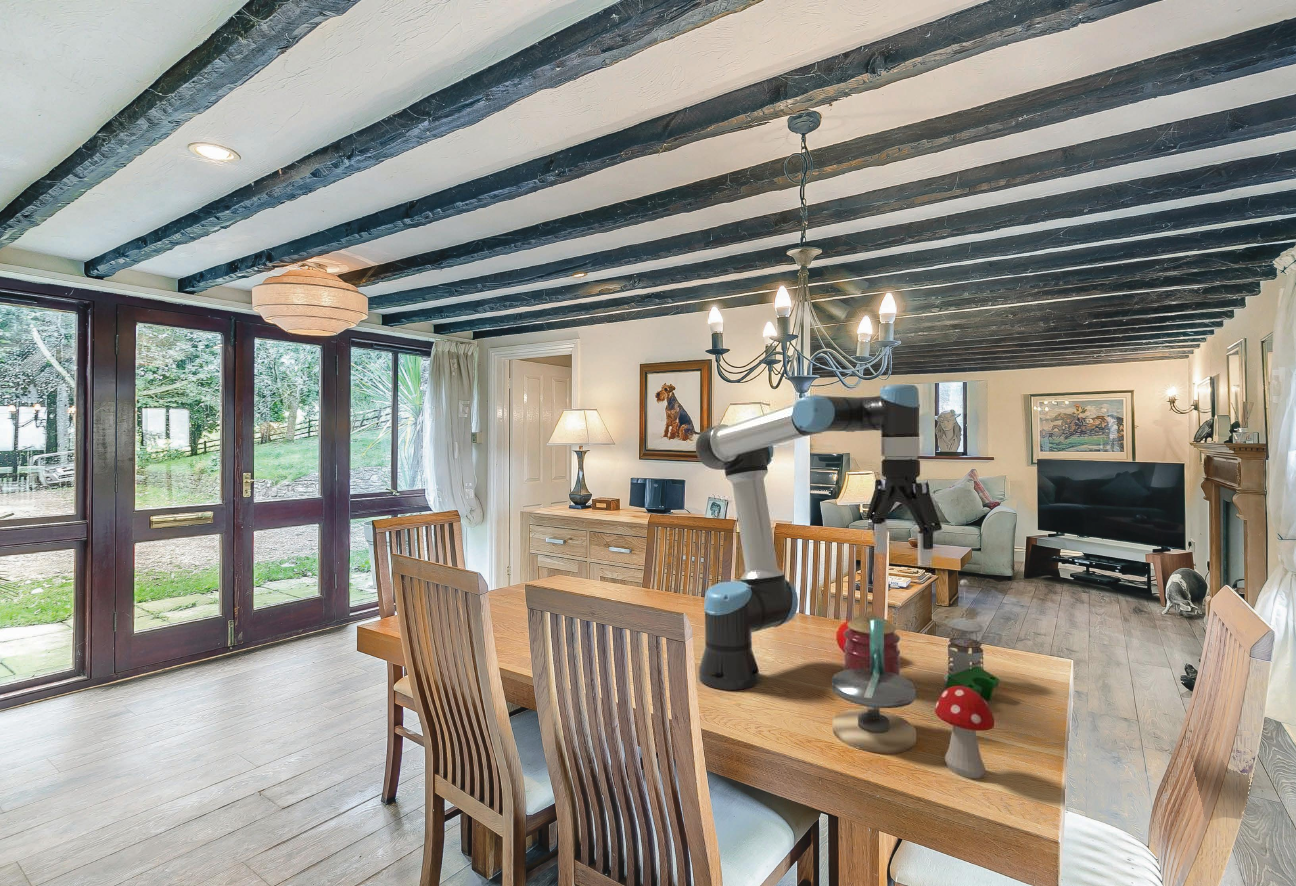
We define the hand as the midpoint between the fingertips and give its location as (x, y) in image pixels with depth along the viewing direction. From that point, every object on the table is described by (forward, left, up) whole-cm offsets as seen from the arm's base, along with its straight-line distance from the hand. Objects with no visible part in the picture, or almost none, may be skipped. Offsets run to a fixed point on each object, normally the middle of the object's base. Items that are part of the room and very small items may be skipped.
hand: (901, 558), depth 130 cm
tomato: (-36, +15, -35) cm, 52 cm away
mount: (+2, -9, -35) cm, 36 cm away
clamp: (-5, +23, -35) cm, 42 cm away
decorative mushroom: (+19, -2, -35) cm, 40 cm away
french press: (-14, +30, -35) cm, 48 cm away
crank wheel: (+2, -9, -31) cm, 33 cm away
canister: (-20, +7, -35) cm, 41 cm away
